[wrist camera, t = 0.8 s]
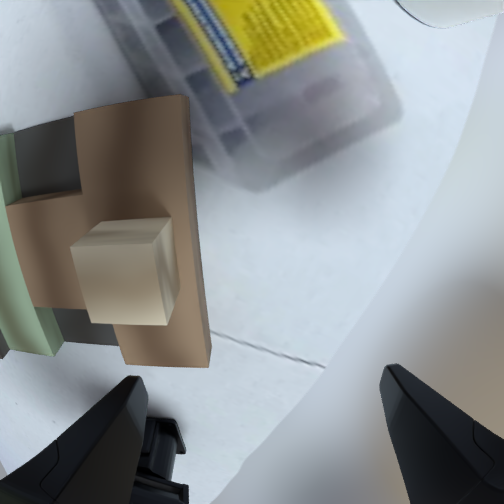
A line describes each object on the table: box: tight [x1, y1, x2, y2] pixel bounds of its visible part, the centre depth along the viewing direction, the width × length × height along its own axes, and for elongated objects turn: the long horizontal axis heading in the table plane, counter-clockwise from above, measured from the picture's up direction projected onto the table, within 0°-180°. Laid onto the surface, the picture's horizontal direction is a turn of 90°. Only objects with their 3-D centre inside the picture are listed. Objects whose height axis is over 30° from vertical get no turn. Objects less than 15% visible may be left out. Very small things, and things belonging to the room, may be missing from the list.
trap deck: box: [0, 94, 212, 368], centre depth 19 cm, size 20×18×4 cm
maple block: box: [70, 217, 181, 325], centre depth 17 cm, size 4×4×4 cm
